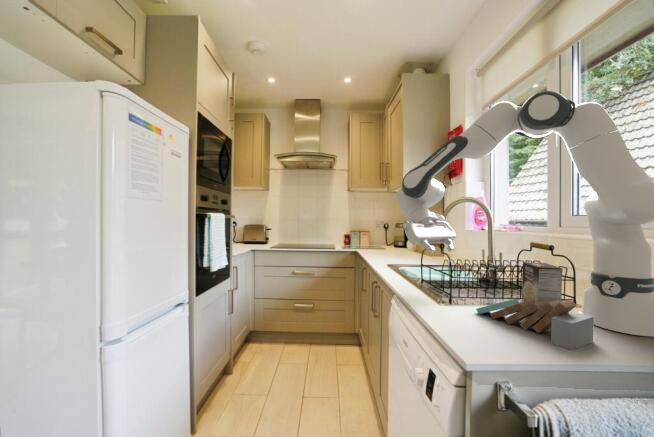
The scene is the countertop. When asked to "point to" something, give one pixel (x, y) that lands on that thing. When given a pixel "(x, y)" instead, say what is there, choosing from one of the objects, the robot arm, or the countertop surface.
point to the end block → (572, 330)
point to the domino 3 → (525, 312)
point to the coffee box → (541, 282)
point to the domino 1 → (497, 306)
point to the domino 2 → (510, 309)
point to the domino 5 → (556, 311)
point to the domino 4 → (539, 315)
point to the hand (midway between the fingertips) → (442, 251)
